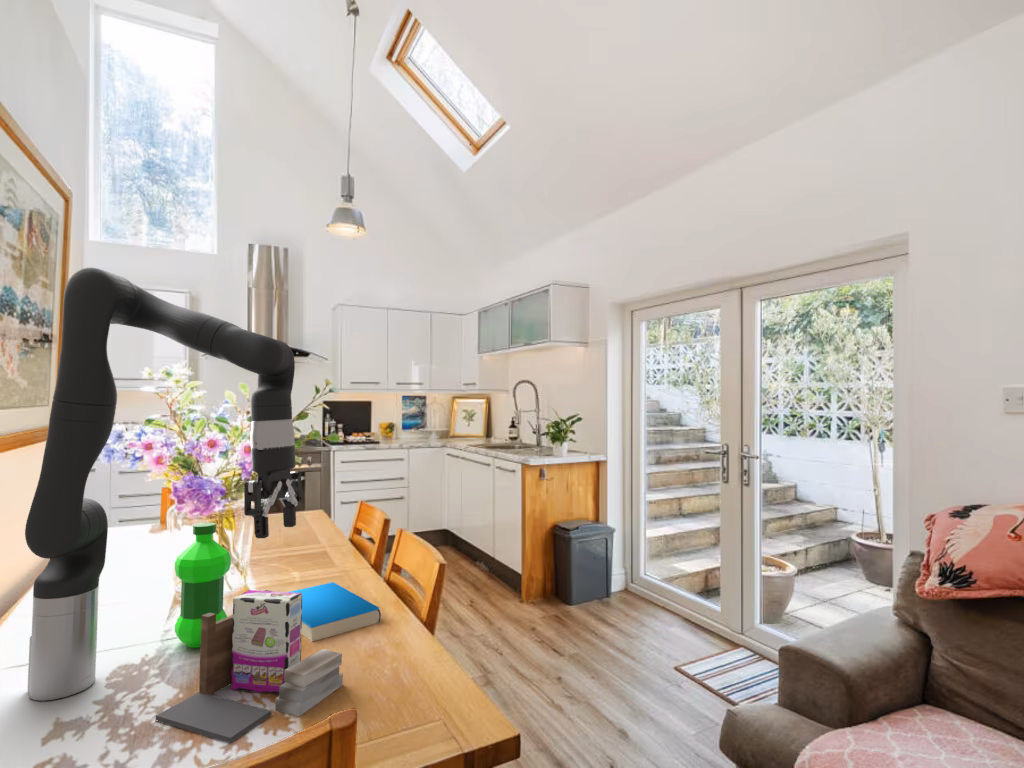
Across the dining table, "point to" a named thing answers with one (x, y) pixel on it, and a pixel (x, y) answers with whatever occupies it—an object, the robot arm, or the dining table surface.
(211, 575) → the plastic bottle
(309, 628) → the book
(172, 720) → the mat
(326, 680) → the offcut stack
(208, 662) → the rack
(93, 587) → the robot arm
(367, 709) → the dining table surface
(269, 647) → the candy bar box
